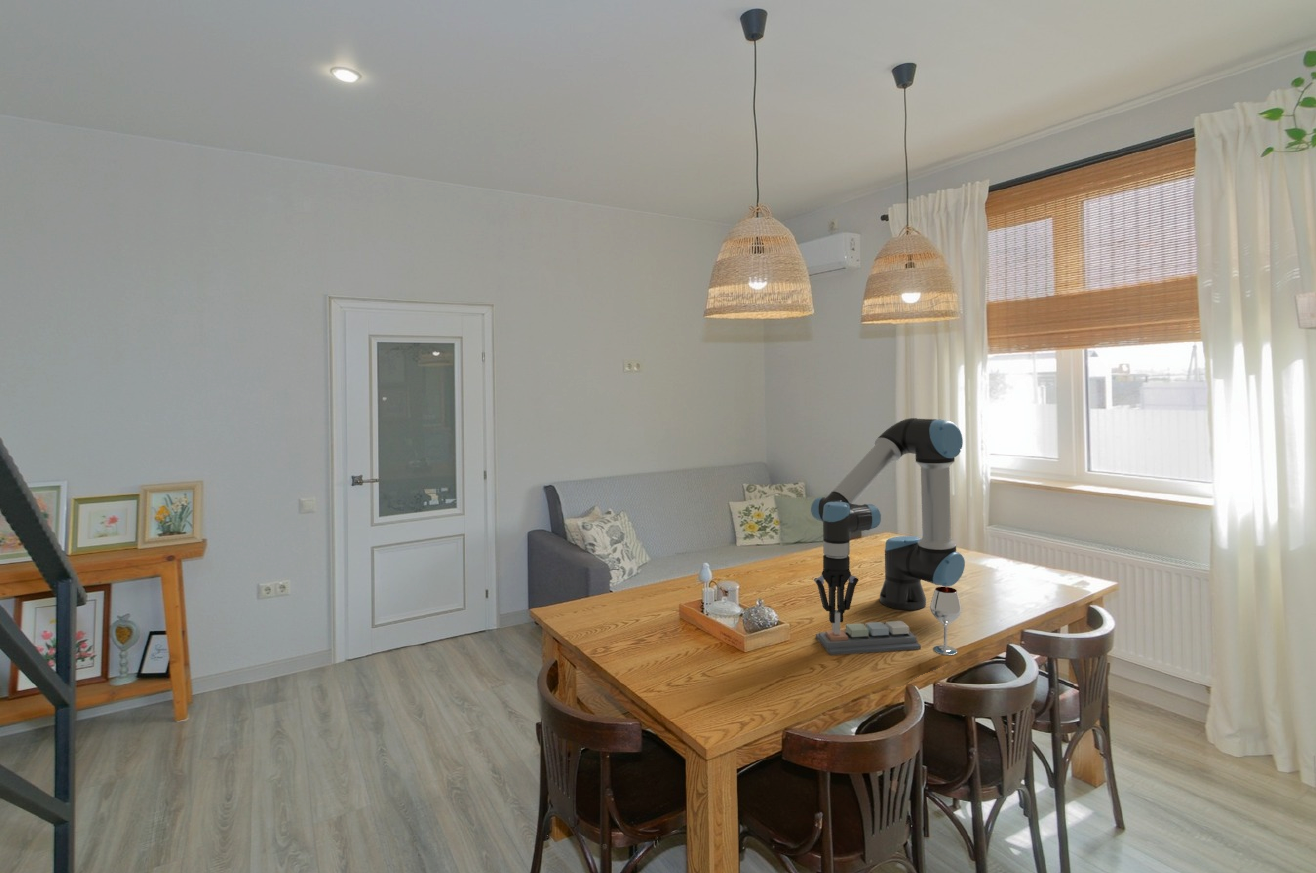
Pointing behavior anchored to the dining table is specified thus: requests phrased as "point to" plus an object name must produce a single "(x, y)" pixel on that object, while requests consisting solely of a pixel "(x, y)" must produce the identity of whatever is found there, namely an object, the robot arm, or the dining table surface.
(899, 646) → the keypad
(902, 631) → the key ivory
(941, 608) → the wineglass
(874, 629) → the key bluegrey
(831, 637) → the key terracotta
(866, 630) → the key sage
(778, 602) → the dining table surface
